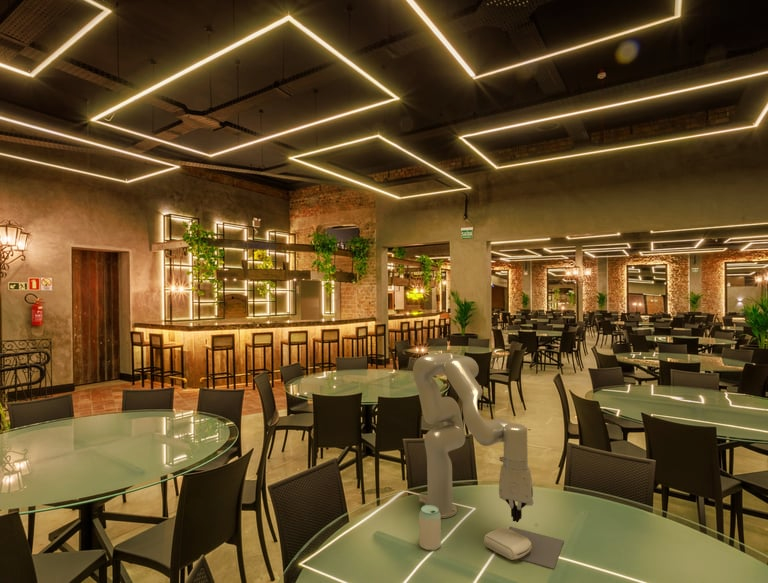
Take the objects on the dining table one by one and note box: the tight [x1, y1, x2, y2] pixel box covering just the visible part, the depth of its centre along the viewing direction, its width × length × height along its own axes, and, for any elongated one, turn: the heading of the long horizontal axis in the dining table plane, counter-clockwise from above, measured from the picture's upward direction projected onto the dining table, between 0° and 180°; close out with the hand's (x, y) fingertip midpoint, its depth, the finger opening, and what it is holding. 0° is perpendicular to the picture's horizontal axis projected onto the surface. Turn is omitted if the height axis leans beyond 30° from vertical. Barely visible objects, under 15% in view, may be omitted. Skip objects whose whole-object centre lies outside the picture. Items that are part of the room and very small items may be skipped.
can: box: [418, 505, 442, 551], centre depth 143 cm, size 7×7×12 cm
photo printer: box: [483, 526, 532, 561], centre depth 140 cm, size 10×4×12 cm
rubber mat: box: [494, 526, 565, 570], centre depth 142 cm, size 18×18×1 cm
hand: (516, 519), depth 142 cm, fingers closed
